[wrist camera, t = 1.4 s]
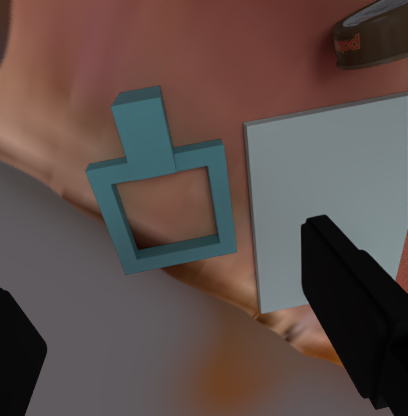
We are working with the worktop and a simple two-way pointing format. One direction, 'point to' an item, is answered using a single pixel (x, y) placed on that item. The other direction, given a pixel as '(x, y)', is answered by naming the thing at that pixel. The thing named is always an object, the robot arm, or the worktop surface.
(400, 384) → the robot arm
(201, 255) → the link
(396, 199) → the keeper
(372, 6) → the tin
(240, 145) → the worktop surface
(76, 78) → the worktop surface
